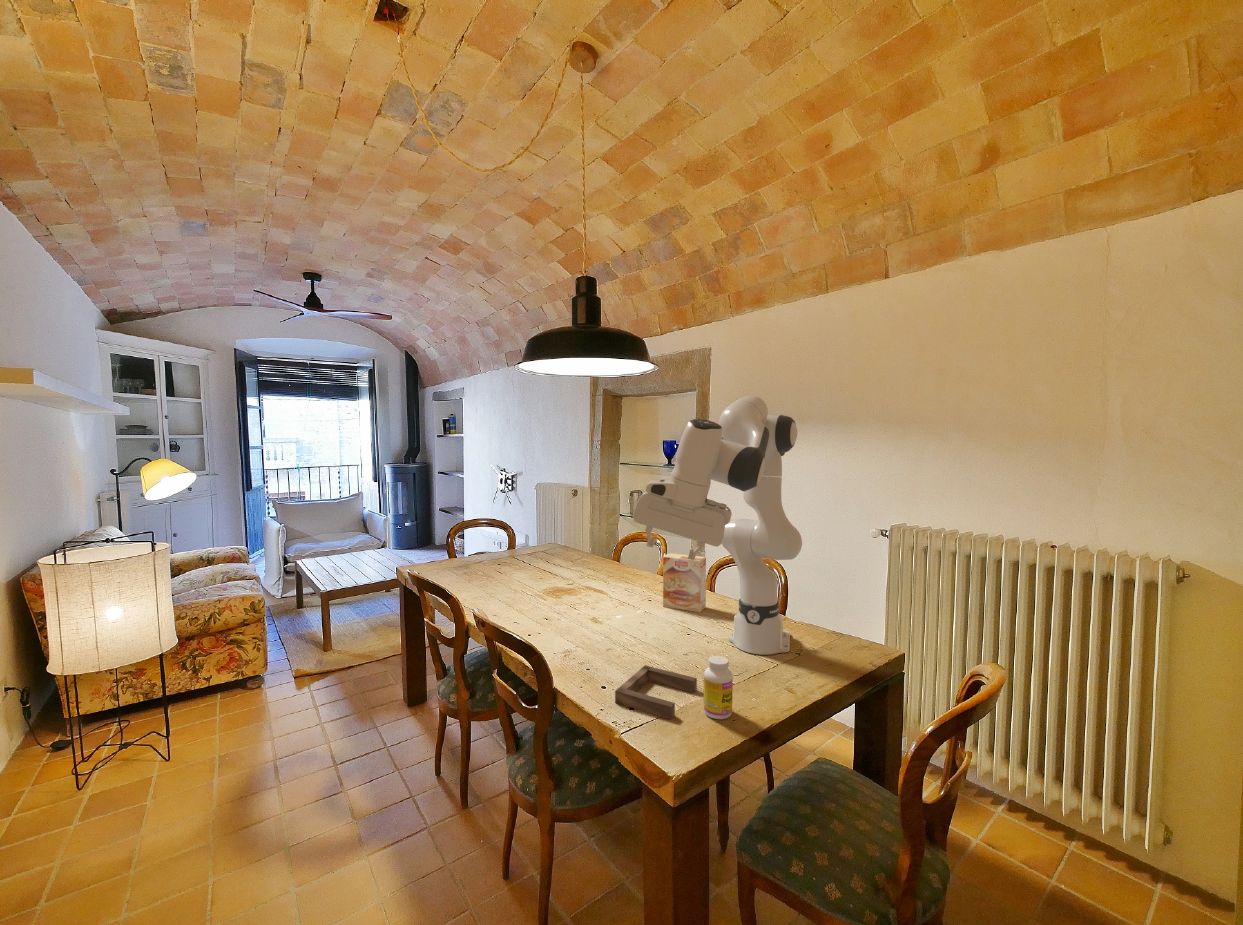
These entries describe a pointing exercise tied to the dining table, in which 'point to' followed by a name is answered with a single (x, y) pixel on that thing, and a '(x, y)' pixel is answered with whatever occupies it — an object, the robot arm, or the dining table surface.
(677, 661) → the dining table surface
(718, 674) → the supplement bottle
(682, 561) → the coffeecake box
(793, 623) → the dining table surface
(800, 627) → the dining table surface
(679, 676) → the bay
